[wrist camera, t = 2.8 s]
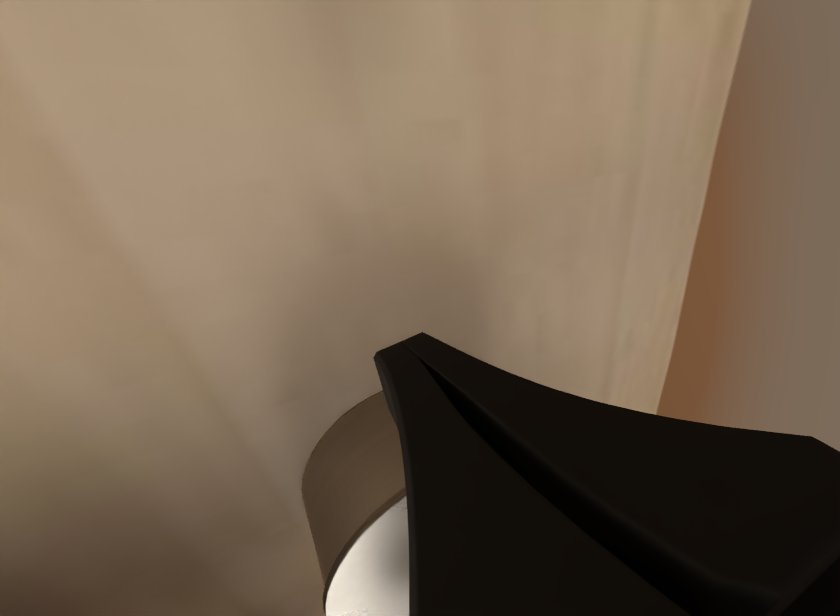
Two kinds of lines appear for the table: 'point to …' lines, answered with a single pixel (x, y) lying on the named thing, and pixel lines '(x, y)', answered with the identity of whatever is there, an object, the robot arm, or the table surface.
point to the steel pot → (360, 513)
